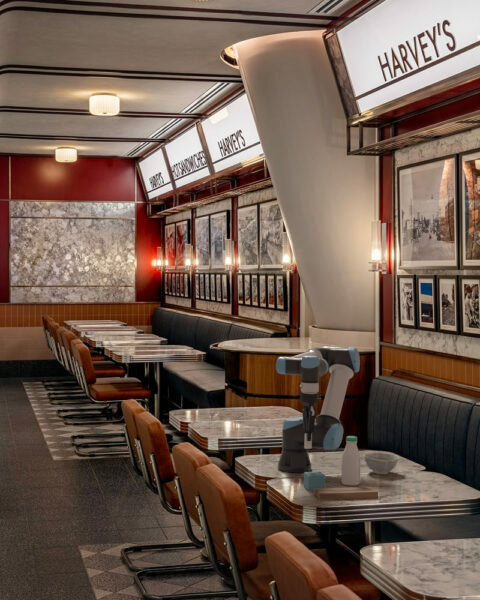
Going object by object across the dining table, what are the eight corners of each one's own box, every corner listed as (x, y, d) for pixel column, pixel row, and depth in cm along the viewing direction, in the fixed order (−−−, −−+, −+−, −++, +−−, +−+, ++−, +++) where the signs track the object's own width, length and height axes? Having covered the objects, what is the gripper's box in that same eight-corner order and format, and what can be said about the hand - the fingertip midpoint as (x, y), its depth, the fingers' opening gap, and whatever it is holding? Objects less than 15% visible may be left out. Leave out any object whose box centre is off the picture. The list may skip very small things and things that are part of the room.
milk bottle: (359, 486, 367) (360, 438, 367) (340, 485, 369) (341, 437, 368) (360, 482, 375) (361, 435, 374) (342, 481, 377) (343, 434, 376)
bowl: (404, 472, 397) (404, 455, 397) (390, 478, 384) (391, 461, 384) (371, 467, 406) (372, 450, 406) (356, 473, 393) (357, 456, 392)
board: (313, 494, 352) (314, 488, 352) (370, 493, 357) (370, 486, 357) (319, 499, 344) (320, 493, 344) (378, 498, 349) (378, 491, 349)
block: (303, 486, 366) (303, 472, 366) (319, 486, 368) (320, 471, 367) (308, 490, 359) (308, 476, 359) (324, 490, 361) (325, 475, 361)
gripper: (296, 390, 378) (295, 445, 378) (305, 394, 365) (303, 451, 365) (313, 390, 379) (311, 445, 380) (322, 394, 366) (321, 451, 367)
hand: (307, 448), depth 373 cm, fingers closed
